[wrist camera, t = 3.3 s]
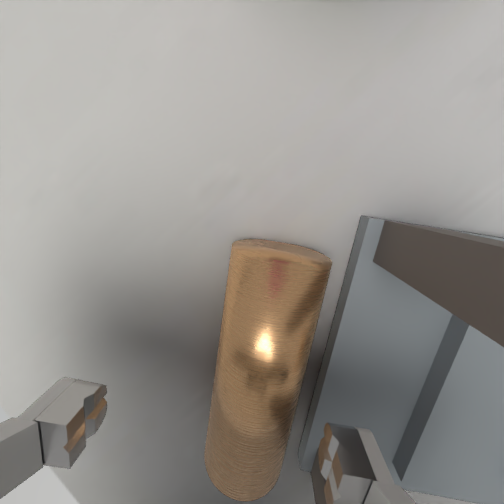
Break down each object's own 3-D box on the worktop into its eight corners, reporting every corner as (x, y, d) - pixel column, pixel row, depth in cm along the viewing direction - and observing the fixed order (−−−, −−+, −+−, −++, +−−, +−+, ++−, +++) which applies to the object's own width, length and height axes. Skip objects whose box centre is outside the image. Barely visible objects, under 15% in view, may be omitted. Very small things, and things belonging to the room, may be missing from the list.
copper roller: (256, 406, 16) (297, 474, 13) (194, 431, 14) (222, 522, 10) (289, 240, 13) (354, 266, 10) (216, 237, 11) (266, 271, 7)
